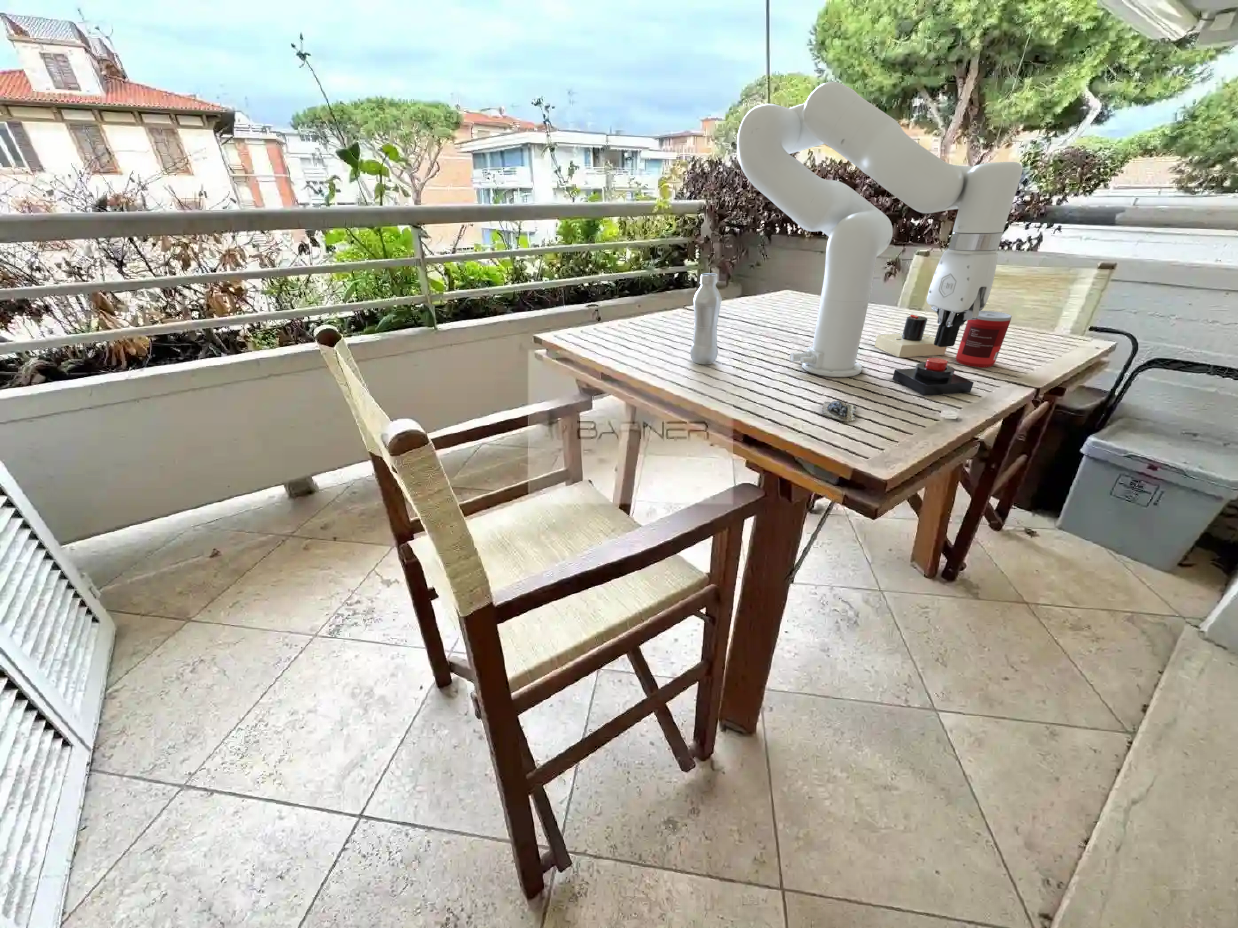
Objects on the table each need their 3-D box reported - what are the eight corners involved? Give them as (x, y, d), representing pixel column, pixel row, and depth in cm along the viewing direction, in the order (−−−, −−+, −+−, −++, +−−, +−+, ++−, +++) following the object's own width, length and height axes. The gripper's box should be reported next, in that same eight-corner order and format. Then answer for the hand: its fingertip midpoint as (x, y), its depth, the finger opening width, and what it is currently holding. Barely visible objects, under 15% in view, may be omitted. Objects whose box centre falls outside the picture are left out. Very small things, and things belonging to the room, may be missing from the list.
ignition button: (932, 372, 96) (935, 363, 95) (920, 366, 99) (923, 358, 98) (949, 371, 96) (952, 362, 95) (936, 365, 99) (939, 357, 98)
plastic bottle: (686, 365, 114) (690, 276, 104) (693, 357, 120) (698, 272, 110) (713, 368, 112) (720, 277, 102) (719, 360, 118) (726, 272, 108)
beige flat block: (898, 357, 116) (902, 344, 115) (874, 346, 125) (877, 334, 123) (944, 354, 117) (948, 342, 116) (917, 344, 126) (920, 332, 125)
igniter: (923, 396, 94) (929, 376, 92) (891, 379, 103) (896, 361, 101) (970, 392, 95) (977, 373, 93) (935, 376, 104) (940, 358, 102)
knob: (925, 340, 118) (932, 318, 116) (909, 341, 118) (915, 319, 115) (913, 335, 122) (919, 314, 119) (897, 336, 121) (903, 315, 119)
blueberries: (850, 404, 91) (852, 395, 90) (868, 422, 84) (871, 411, 83) (814, 405, 92) (816, 395, 91) (829, 422, 85) (831, 412, 84)
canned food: (982, 357, 115) (998, 310, 109) (1001, 368, 108) (1020, 318, 102) (948, 357, 115) (962, 310, 110) (965, 368, 108) (982, 318, 103)
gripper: (925, 241, 92) (901, 337, 101) (987, 248, 79) (953, 357, 88) (961, 240, 93) (934, 335, 102) (1029, 246, 80) (991, 354, 89)
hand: (943, 345), depth 95 cm, fingers closed
